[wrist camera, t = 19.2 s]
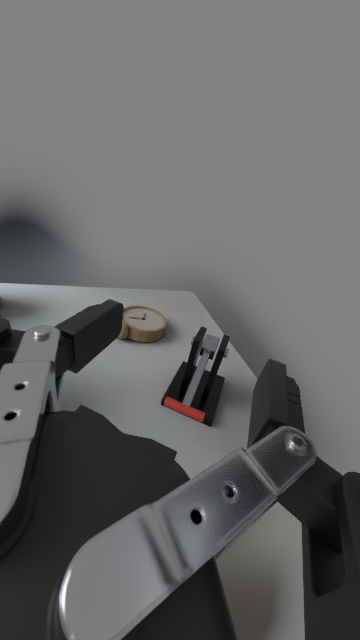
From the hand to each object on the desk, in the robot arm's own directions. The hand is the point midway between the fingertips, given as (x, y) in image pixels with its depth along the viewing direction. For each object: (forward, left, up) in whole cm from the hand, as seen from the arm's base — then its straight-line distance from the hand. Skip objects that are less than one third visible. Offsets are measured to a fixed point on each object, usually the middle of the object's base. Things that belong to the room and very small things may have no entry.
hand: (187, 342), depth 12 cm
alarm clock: (+33, -18, -26) cm, 46 cm away
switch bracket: (+11, -18, -26) cm, 34 cm away
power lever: (+8, -15, -18) cm, 24 cm away
